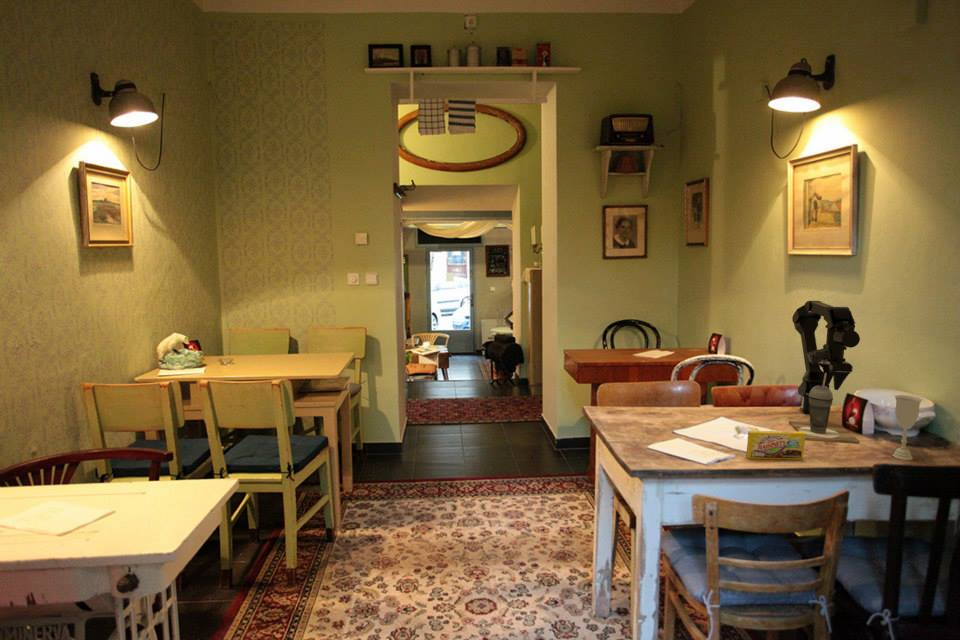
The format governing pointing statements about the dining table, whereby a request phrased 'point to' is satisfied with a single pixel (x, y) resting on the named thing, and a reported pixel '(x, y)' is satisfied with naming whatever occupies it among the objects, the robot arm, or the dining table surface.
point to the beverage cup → (820, 407)
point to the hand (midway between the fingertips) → (831, 386)
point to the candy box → (775, 445)
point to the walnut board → (832, 433)
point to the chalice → (906, 421)
